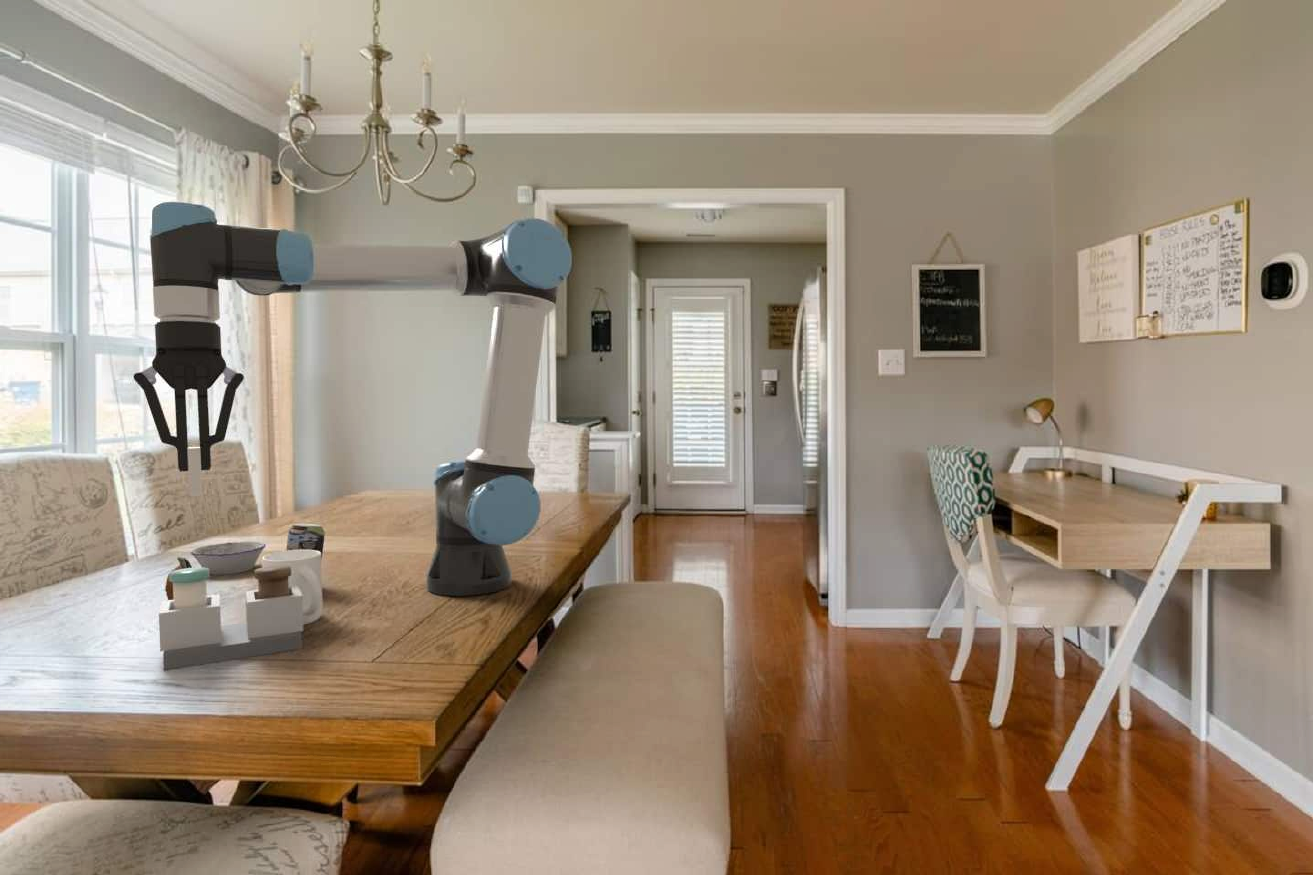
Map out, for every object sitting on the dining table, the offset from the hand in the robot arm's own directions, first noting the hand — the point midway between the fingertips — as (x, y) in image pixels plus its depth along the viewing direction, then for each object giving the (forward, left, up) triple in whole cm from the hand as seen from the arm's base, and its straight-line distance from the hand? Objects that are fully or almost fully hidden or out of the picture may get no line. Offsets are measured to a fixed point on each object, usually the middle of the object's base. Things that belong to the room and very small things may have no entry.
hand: (196, 494), depth 102 cm
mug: (-8, -12, -22) cm, 26 cm away
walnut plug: (-9, -3, -19) cm, 21 cm away
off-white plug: (0, +2, -18) cm, 18 cm away
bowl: (+23, -47, -22) cm, 56 cm away
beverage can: (+1, -32, -22) cm, 39 cm away
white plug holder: (-4, 0, -22) cm, 22 cm away
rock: (+14, -20, -22) cm, 33 cm away
